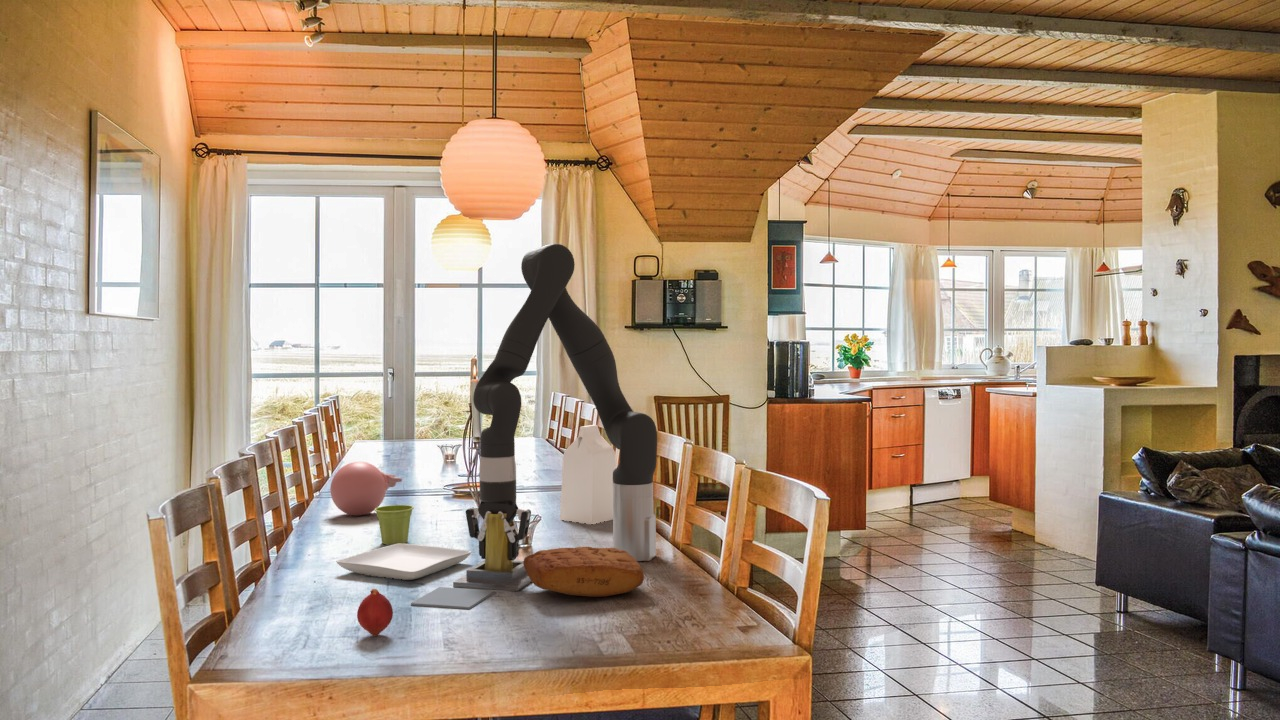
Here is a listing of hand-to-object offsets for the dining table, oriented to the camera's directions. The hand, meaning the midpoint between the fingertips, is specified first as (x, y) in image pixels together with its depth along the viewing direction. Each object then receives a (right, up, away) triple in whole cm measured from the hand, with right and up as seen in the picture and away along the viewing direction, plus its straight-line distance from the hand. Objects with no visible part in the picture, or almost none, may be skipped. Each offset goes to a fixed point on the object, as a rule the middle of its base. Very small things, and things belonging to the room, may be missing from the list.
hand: (498, 558), depth 196 cm
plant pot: (-31, -4, +38) cm, 50 cm away
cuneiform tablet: (+18, -5, -10) cm, 21 cm away
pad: (-7, -5, -14) cm, 16 cm away
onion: (-15, -6, -36) cm, 40 cm away
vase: (0, -5, 0) cm, 5 cm away
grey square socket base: (0, -4, 0) cm, 4 cm away
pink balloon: (-49, -4, +77) cm, 91 cm away
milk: (+15, -3, +67) cm, 69 cm away
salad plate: (-22, -5, +11) cm, 25 cm away
